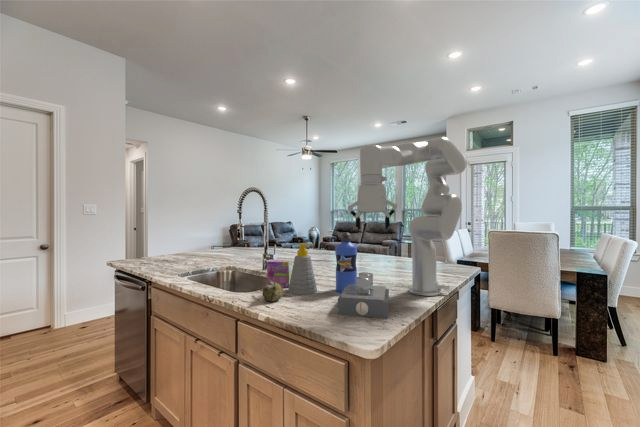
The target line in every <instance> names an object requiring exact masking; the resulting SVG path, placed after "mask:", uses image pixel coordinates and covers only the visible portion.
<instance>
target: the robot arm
mask: <svg viewBox="0 0 640 427" xmlns="http://www.w3.org/2000/svg"><path fill="white" fill-rule="evenodd" d="M359 162H360V163H359V164H360V165H359V168H360V184H359V185H358V191H357V201H355V202H353V203H351V204H349V205H348V206H347V209H348V211H349V213H350V214H351V215H352V216H353V217H354V218H355V227H356V228H357V230H361V229H362V228H361V227H362V225H361V224H362V222H361V218H360V217H361V215H363V213H365V214H367V213H368V214H370V213H371V214H373V213H383V214H384V216H385V218H384V223H385V225H384V226H385V230H388V229H389V227H390V226H391V224H390V223H391V222H390V220H391V219H390V217H391V216H392V215H393V214H394V213H395V212H396V210H397V208H398V204H396V203H394V202H392V201H390V200H388V199H387V191H386V184H384V183H383V182H386V181H387V176H383V169H389V168H394V167H400V166H401V167H402V166H408V165H414V164H418V163H424V162H426V163H425V166H424V167H425V173H426V176H427V179H428V180H427V181H428V184H429V185H428V189H427V191H426V195H425V196H424V199H423V201H422V204H421V209H420V210H421V213H422V215H419V216H416V217H414V218H412V219H411V220H410V223H409V226H408V227H409V233H410V238H411V250H412V251H411V253H412V255H411V256H412V257H411V258H412V259H411V261H412V266H411V267H412V268H411V270H412V271H411V272H412V273H411V274H412V276H411V277H412V282H411V284H412V285H411V286H410V287H408V292H409V293H411V294H412V295H418V296H424V297H434V296H439V295H440V294H442V290H450V284H445V283H439V282H438V280H437V278H438V277H437V269H438V268H437V265H438V264H437V248H436V245H435V244H434V242H433V241H448V240H450V239H451V238H452V236H454V232H455V230H456V227H457V225H458V222H459V220H460V217H461V213H462V209H463V208H462V207H463V205H462V199H461V198H460V197H459V196H458V195H456V194H453V193H450V186H449V184H448V182H447V181H446V180H445V179H444V177H447V176H453V175H454V176H455V175H460V174H462V173H463V172H464V171H465V169H466V167H467V166H466V165H467V163H466V159H465V156H464V155H463V153H461V151H460V150H459V149H458V147H457V146H456V145H455V144H454V143H453V142H452V141H451V140H450V139H449V138H448V137H446V136H440V137H435V138H431V139H427V140H421V141H413V142H412V141H411V142H405V143H401V144H398V145H395V146H393V145H383V146H381V145H377V144H367V145H363V146H362V147H361V148H360V149H359ZM388 205H389V206H390V207H392V208H391V210H390V211H389V212H388ZM355 207H357V212H356V211H354V209H353V208H355Z"/></svg>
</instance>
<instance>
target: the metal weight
mask: <svg viewBox="0 0 640 427" xmlns="http://www.w3.org/2000/svg"><path fill="white" fill-rule="evenodd" d="M358 277H370V278H371V289H372V288H373V286H374V274H373V273H372V272H367V271H366V272H359V273H358Z"/></svg>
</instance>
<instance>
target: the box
mask: <svg viewBox="0 0 640 427" xmlns="http://www.w3.org/2000/svg"><path fill="white" fill-rule="evenodd" d="M292 270H293V260H292V259H269V260H267V261H266V273H267V274H266V277H267V279H266V280H267V281H266V282H267V284H266V285H268V284H269V281H270V280H272V281H273V282H274V281H275V282H276V283H278V284H280V285H281V286H282V287H283V288H287V289H289V284H290V279H291V274H292Z"/></svg>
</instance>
